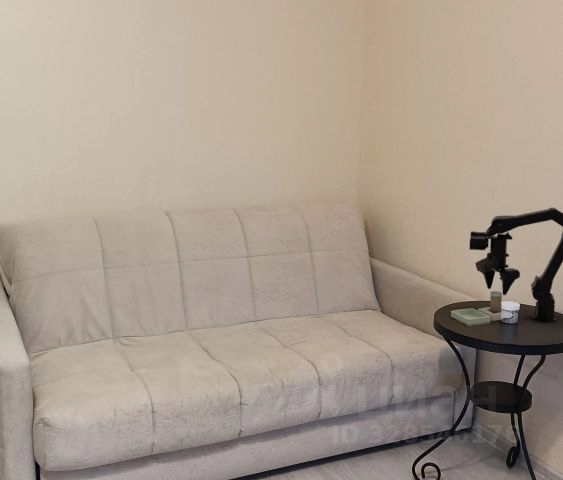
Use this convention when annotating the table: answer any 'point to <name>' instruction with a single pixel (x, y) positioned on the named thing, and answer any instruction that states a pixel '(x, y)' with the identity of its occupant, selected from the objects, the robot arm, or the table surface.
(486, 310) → the socket block
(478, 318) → the tray
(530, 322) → the table surface
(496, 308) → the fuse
